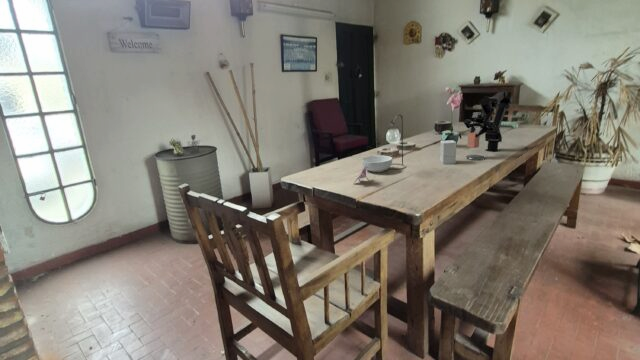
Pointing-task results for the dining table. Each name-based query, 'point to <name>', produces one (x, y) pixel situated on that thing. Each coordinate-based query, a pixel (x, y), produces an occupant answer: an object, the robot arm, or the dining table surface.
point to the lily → (363, 174)
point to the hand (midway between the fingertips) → (472, 136)
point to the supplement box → (448, 152)
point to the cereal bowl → (377, 163)
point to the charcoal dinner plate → (475, 157)
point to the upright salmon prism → (473, 140)
